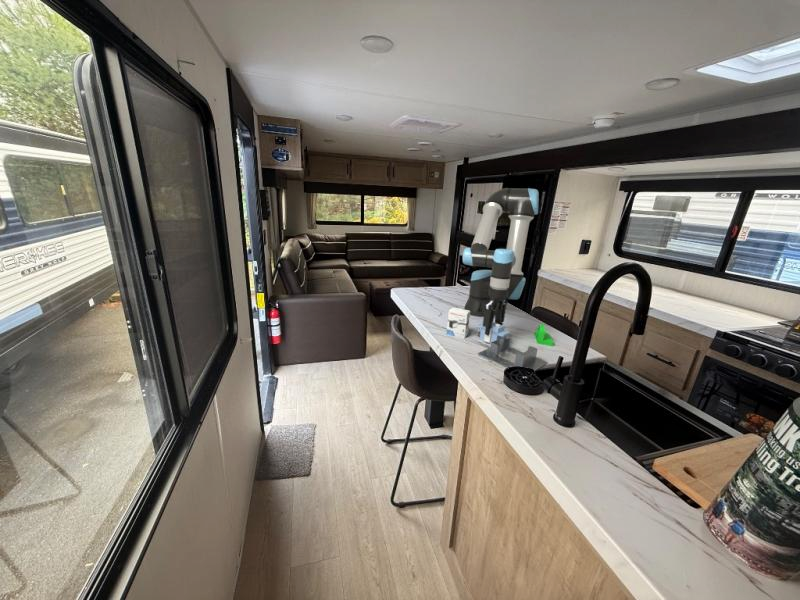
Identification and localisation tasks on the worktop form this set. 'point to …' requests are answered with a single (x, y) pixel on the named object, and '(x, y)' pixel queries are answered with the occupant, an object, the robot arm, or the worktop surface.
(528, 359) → the chassis pocket
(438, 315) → the worktop surface
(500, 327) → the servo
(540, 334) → the mechanical part
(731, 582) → the worktop surface
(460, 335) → the ink box
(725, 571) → the worktop surface
